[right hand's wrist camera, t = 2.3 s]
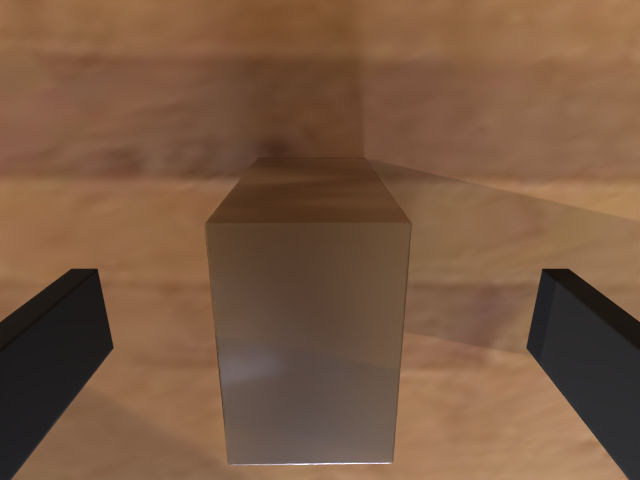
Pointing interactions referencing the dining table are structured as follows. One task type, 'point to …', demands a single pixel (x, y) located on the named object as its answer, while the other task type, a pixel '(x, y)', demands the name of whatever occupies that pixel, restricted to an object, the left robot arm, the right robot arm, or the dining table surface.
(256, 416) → the block
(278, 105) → the dining table surface
